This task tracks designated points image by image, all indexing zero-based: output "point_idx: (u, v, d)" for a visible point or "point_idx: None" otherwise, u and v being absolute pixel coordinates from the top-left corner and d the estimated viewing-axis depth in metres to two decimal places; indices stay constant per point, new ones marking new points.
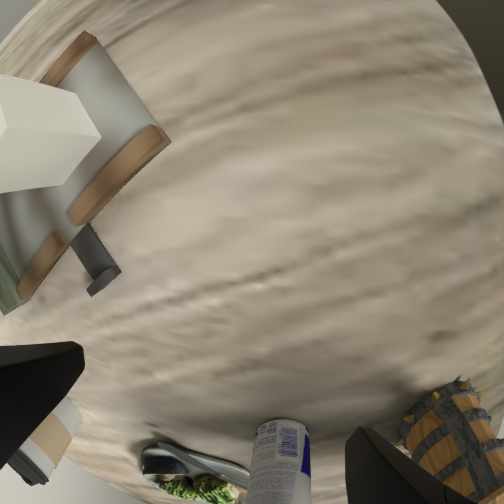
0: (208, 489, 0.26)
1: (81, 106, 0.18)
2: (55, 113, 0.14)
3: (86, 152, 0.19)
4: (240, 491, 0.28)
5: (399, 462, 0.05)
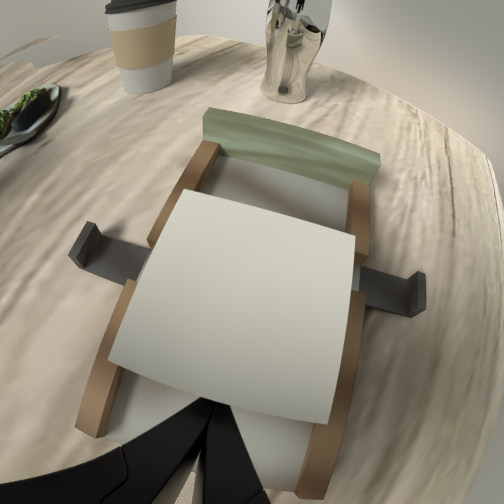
0: None
1: None
2: None
3: None
4: None
5: (222, 444, 0.05)
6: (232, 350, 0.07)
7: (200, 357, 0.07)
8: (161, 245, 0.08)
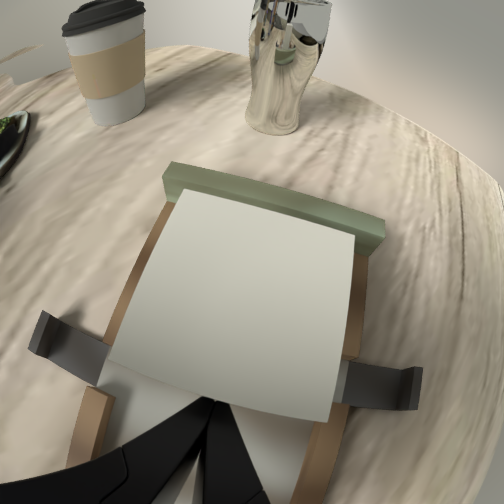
0: None
1: None
2: None
3: None
4: None
5: (223, 444, 0.05)
6: (232, 348, 0.07)
7: (200, 357, 0.07)
8: (161, 244, 0.08)
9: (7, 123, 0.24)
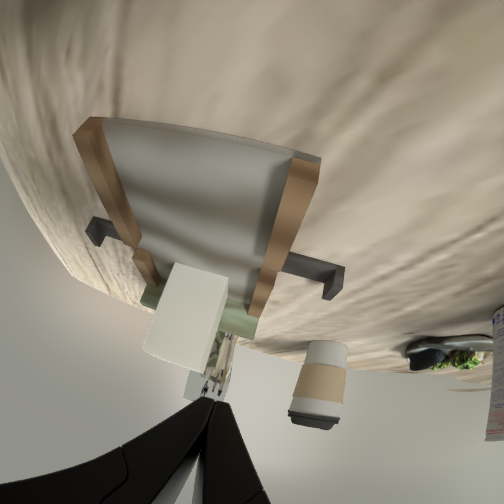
0: (461, 362, 0.31)
1: (191, 270, 0.29)
2: (195, 313, 0.27)
3: (227, 286, 0.31)
4: (484, 352, 0.30)
5: (222, 444, 0.05)
6: (171, 361, 0.26)
7: (177, 363, 0.26)
8: (200, 371, 0.28)
9: None
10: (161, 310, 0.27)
